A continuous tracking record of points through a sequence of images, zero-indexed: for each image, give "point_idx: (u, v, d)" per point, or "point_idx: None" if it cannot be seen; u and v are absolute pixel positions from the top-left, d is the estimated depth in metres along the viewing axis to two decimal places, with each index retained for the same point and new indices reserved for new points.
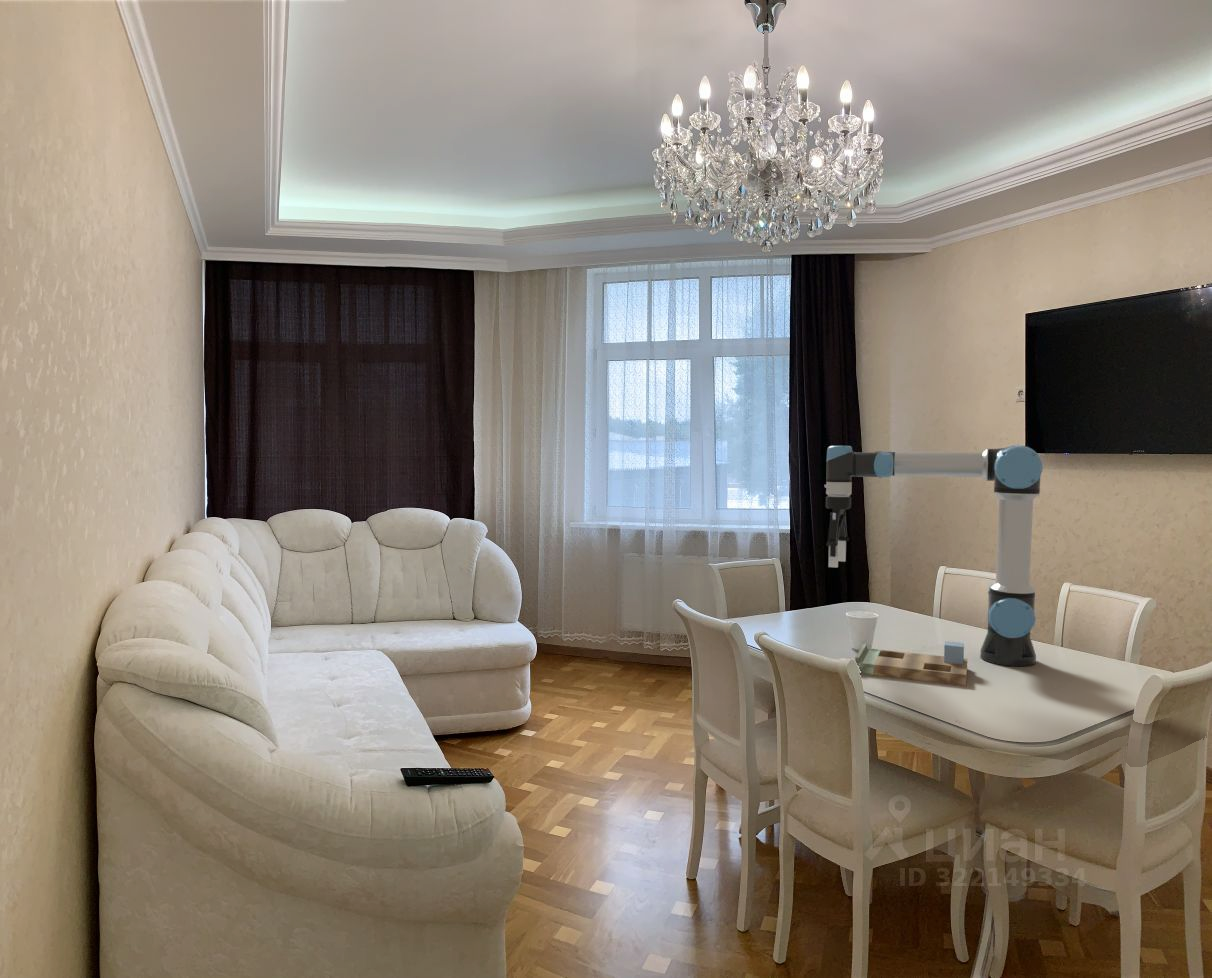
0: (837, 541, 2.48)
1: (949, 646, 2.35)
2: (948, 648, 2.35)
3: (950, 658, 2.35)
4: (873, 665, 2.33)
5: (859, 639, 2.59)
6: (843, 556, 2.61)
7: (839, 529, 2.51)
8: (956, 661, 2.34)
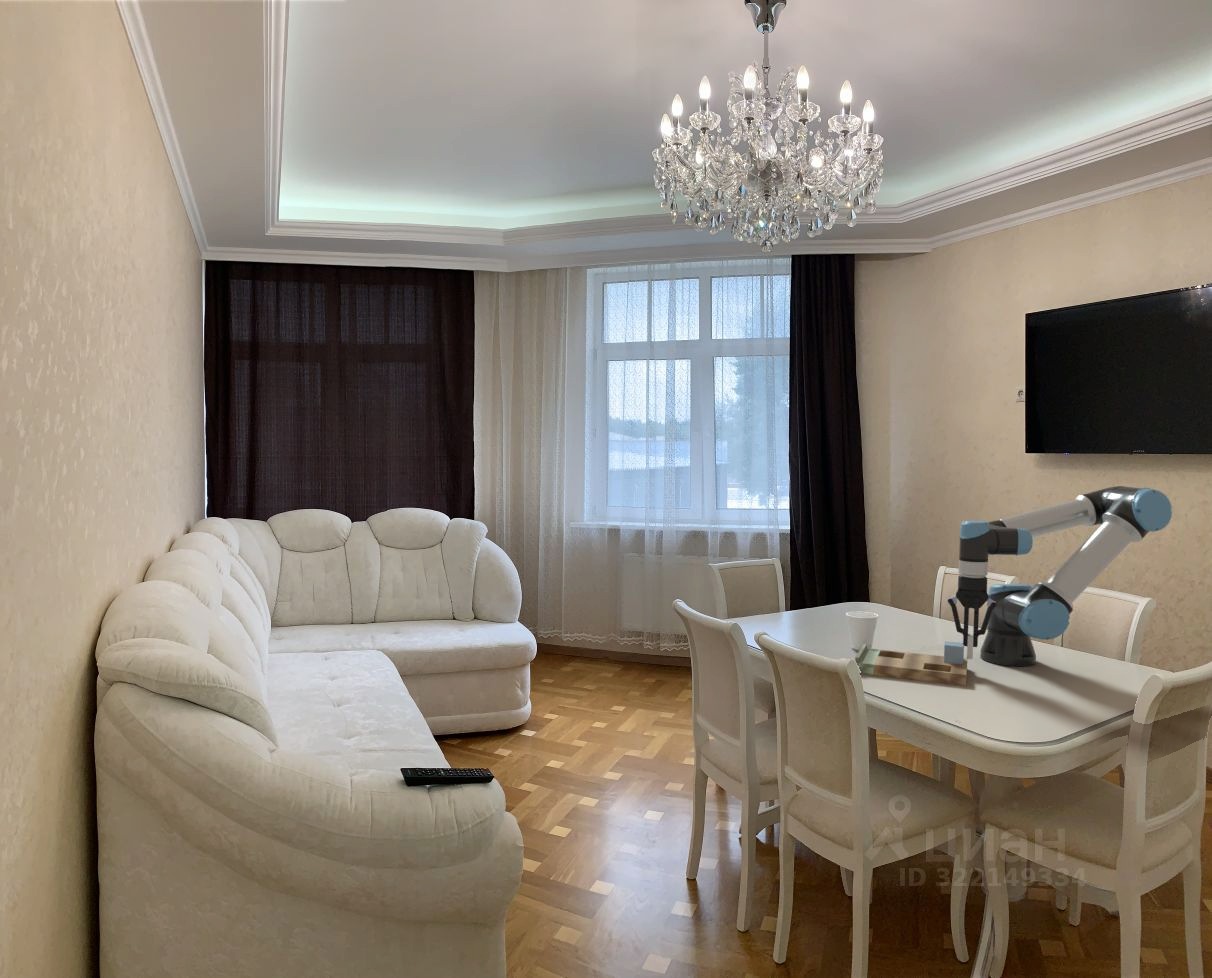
0: (965, 630, 2.34)
1: (949, 646, 2.35)
2: (948, 648, 2.35)
3: (950, 658, 2.35)
4: (873, 665, 2.33)
5: (859, 639, 2.59)
6: None
7: (966, 614, 2.33)
8: (956, 661, 2.34)
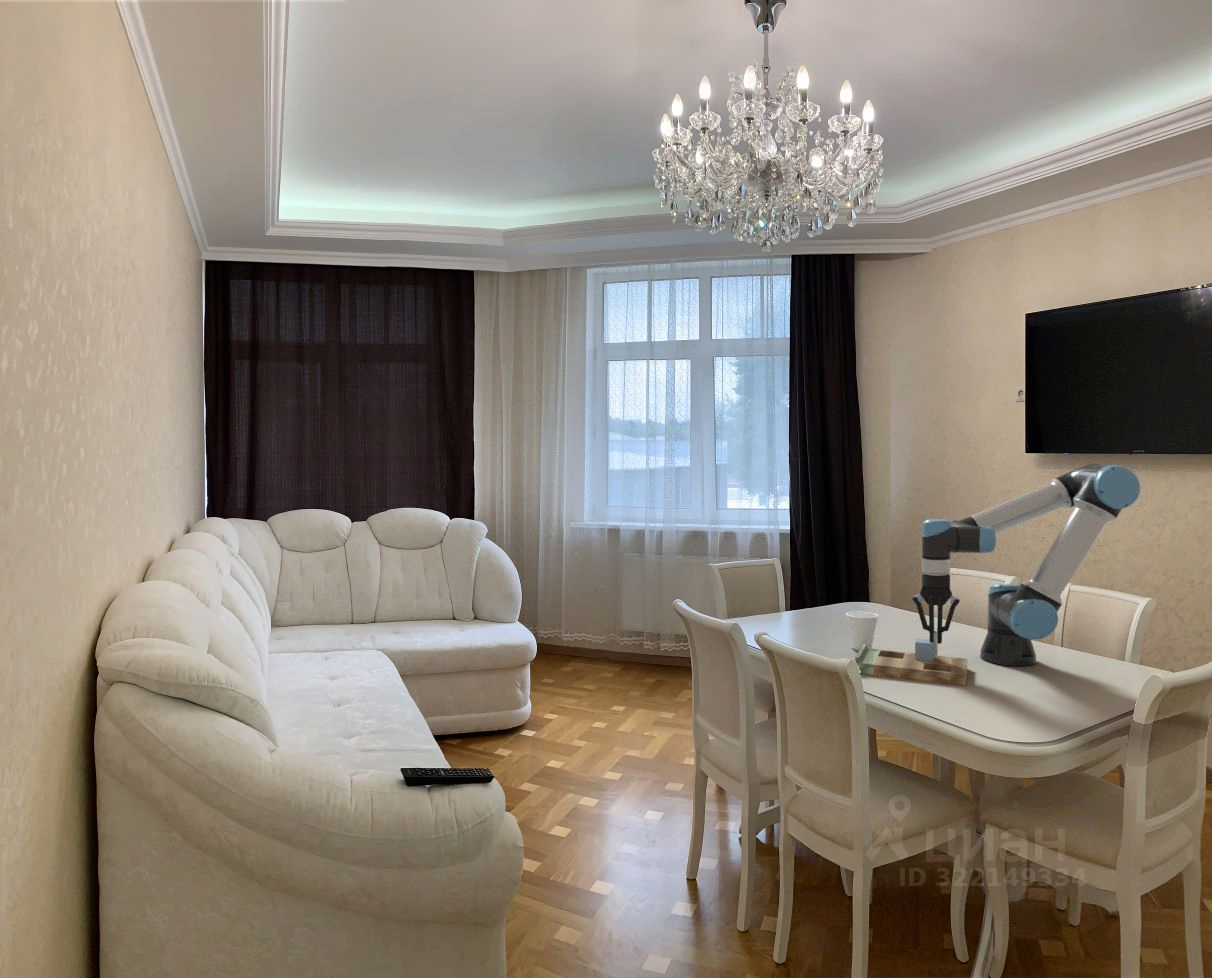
0: (931, 627, 2.38)
1: (919, 644, 2.38)
2: (919, 645, 2.38)
3: (921, 655, 2.38)
4: (873, 665, 2.33)
5: (859, 639, 2.59)
6: None
7: (931, 611, 2.37)
8: (927, 658, 2.37)
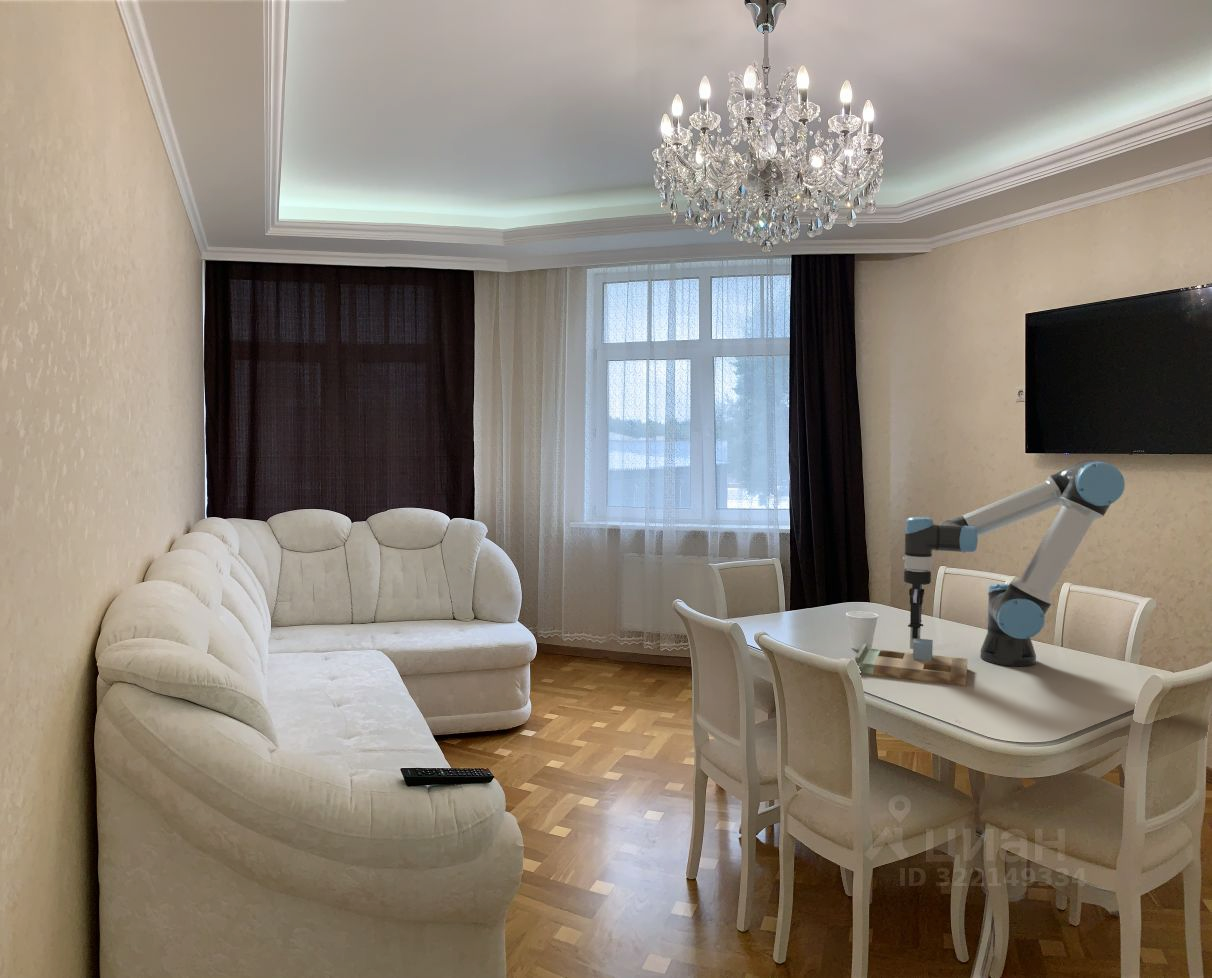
0: (919, 623, 2.42)
1: (917, 644, 2.38)
2: (917, 645, 2.38)
3: (919, 655, 2.38)
4: (873, 665, 2.33)
5: (859, 639, 2.59)
6: None
7: (920, 607, 2.42)
8: (925, 658, 2.37)
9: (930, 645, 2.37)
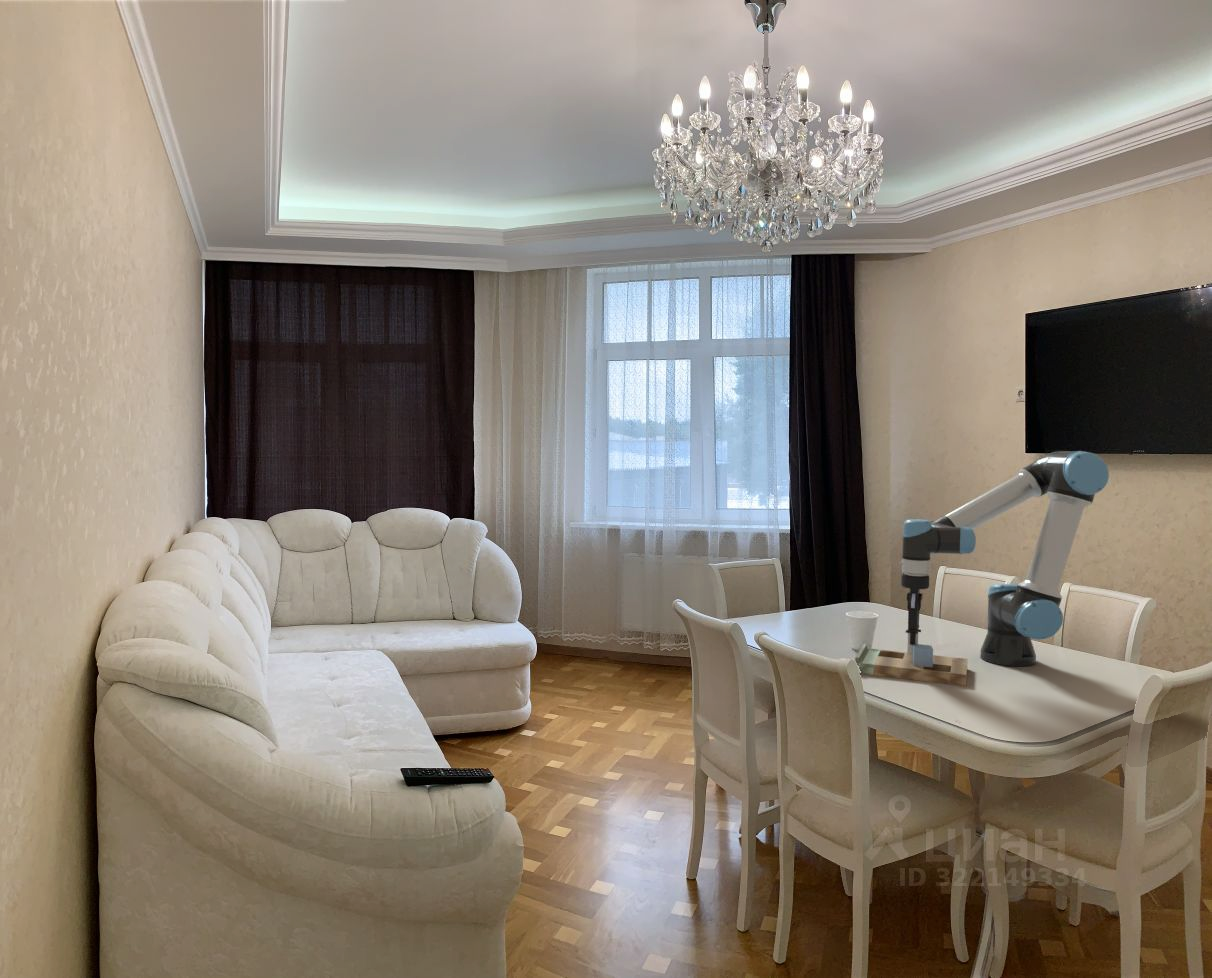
0: (917, 628, 2.35)
1: (918, 650, 2.31)
2: (918, 651, 2.31)
3: (920, 661, 2.31)
4: (873, 665, 2.33)
5: (859, 639, 2.59)
6: None
7: None
8: (926, 664, 2.31)
9: (931, 651, 2.30)
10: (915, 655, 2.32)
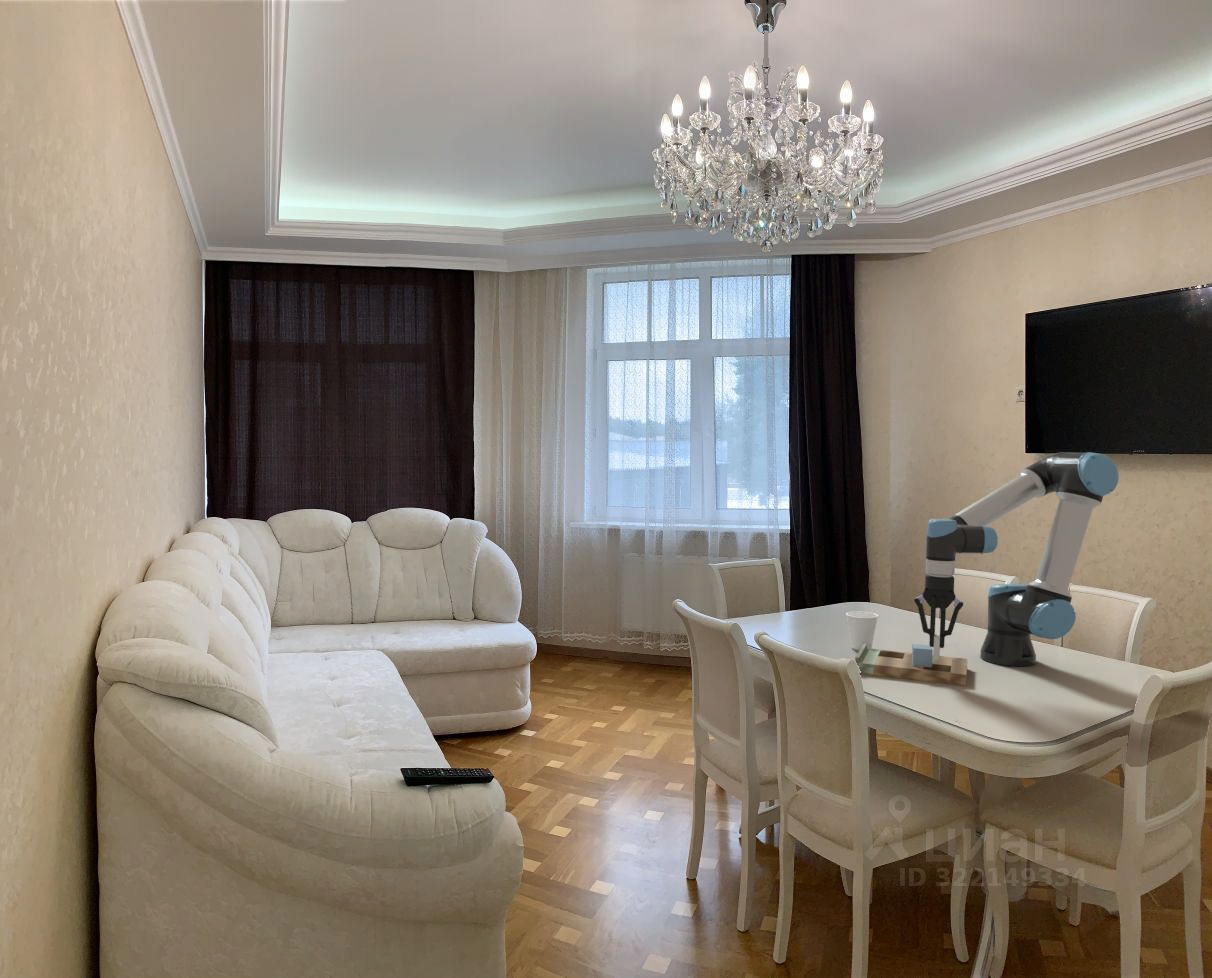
0: (931, 630, 2.29)
1: (918, 650, 2.31)
2: (917, 651, 2.31)
3: (919, 661, 2.31)
4: (873, 665, 2.33)
5: (859, 639, 2.59)
6: None
7: (933, 614, 2.29)
8: (925, 664, 2.31)
9: (931, 651, 2.30)
10: (914, 655, 2.32)
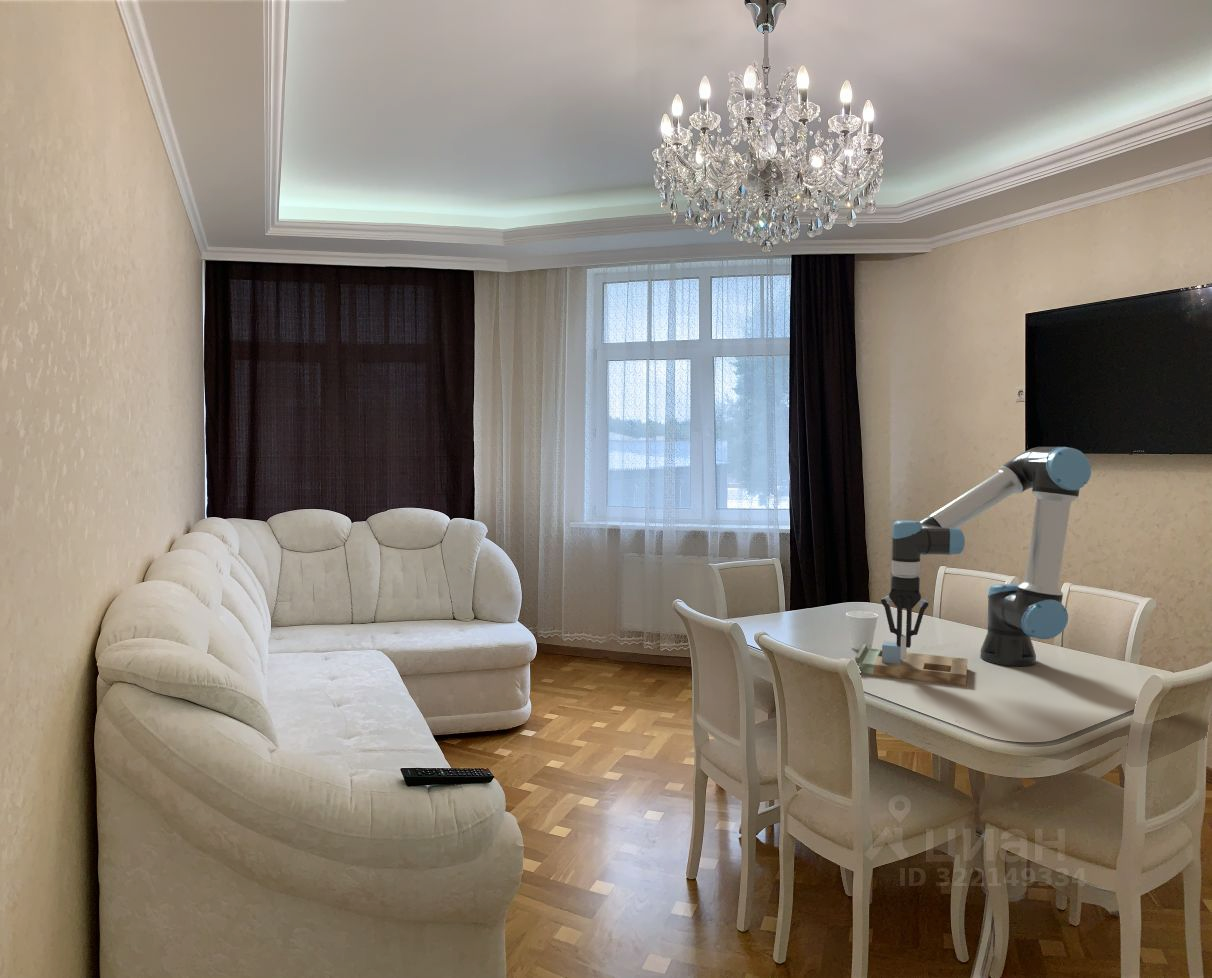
0: (898, 630, 2.33)
1: (886, 646, 2.35)
2: (886, 648, 2.35)
3: (888, 658, 2.35)
4: (873, 665, 2.33)
5: (859, 639, 2.59)
6: None
7: (899, 614, 2.32)
8: (894, 661, 2.34)
9: (899, 648, 2.33)
10: (883, 652, 2.35)
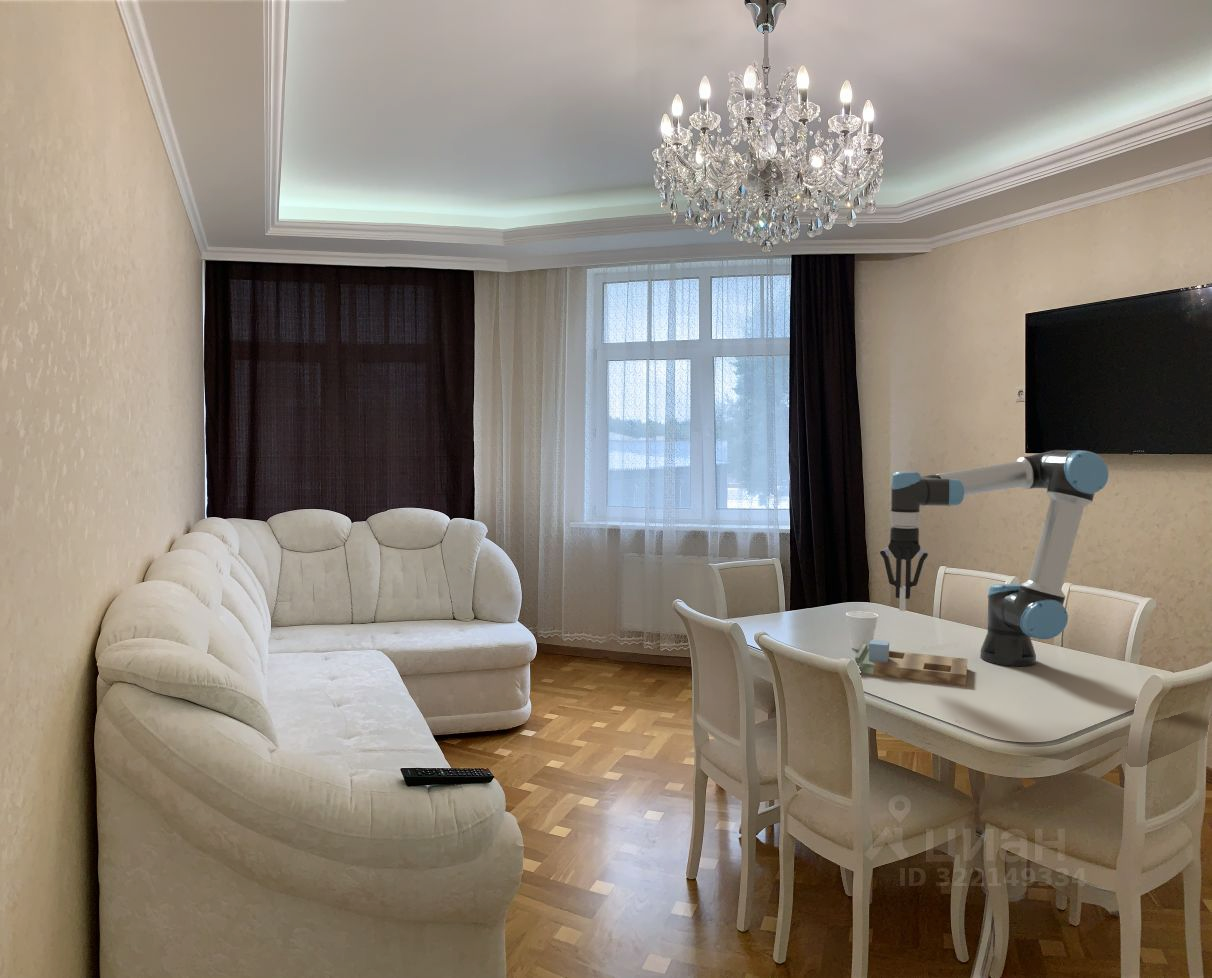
0: (897, 581, 2.32)
1: (873, 645, 2.36)
2: (873, 646, 2.36)
3: (875, 656, 2.36)
4: (873, 665, 2.33)
5: (859, 639, 2.59)
6: None
7: (898, 566, 2.32)
8: (881, 660, 2.36)
9: (886, 646, 2.35)
10: (870, 650, 2.37)
